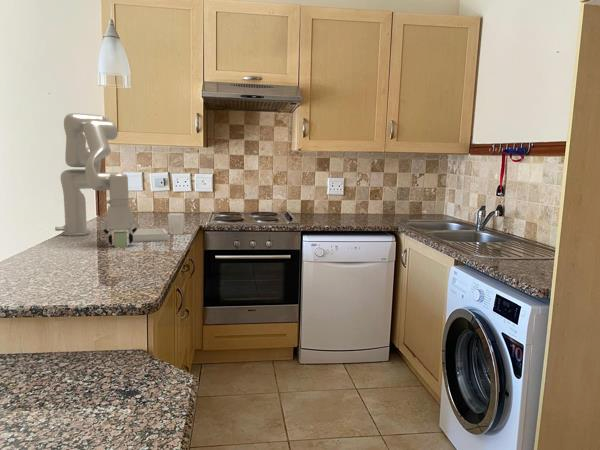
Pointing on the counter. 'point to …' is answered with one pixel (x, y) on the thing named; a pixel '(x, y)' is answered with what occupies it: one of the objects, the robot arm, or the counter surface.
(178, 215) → the white cup
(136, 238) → the white bin
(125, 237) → the green block
